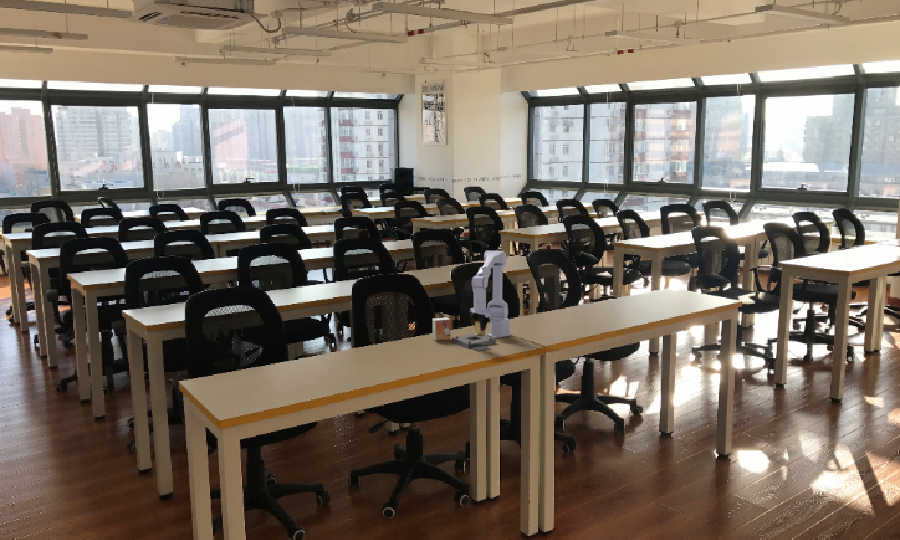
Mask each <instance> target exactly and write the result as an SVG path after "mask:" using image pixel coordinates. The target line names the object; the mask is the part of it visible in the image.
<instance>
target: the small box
mask: <svg viewBox="0 0 900 540" xmlns="http://www.w3.org/2000/svg"><path fill="white" fill-rule="evenodd" d="M432 339H433V340H434V341H435V342H436V341H437V342H438V341H450V340H452V336H451V319H450V318H449V317H446V316H445V317H437V318H434V317H433V318H432Z"/></svg>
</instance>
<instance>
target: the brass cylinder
mask: <svg viewBox="0 0 900 540" xmlns="http://www.w3.org/2000/svg"><path fill="white" fill-rule="evenodd" d="M474 329H475V332H474V334H475V335H476V336H479V337H481V336H485V335H486V329H485V330H484V331H481V329H480V322H479V320H476V321H475V326H474Z"/></svg>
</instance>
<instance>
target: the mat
mask: <svg viewBox="0 0 900 540" xmlns="http://www.w3.org/2000/svg"><path fill="white" fill-rule="evenodd" d="M469 349H472V350H474V351H476V352H483V351H488V350H492V348H491V347H488V346H487V345H485V346H483V345H482V346H476V347H470V348H469Z"/></svg>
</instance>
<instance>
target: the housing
mask: <svg viewBox="0 0 900 540" xmlns="http://www.w3.org/2000/svg"><path fill="white" fill-rule="evenodd" d="M451 342H452V343H455V344H456V345H459V346H462V347H465V348H467V349H471V348H470V347H476V346H482V345H483V346H488V345H489V346H491V345H495V344H497V338H494V337H491V336H489V335H487V334H485V336H481V337H479V336H476V335H475V333H471V334H470V333H469V334H464V335H458V336H451Z"/></svg>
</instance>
